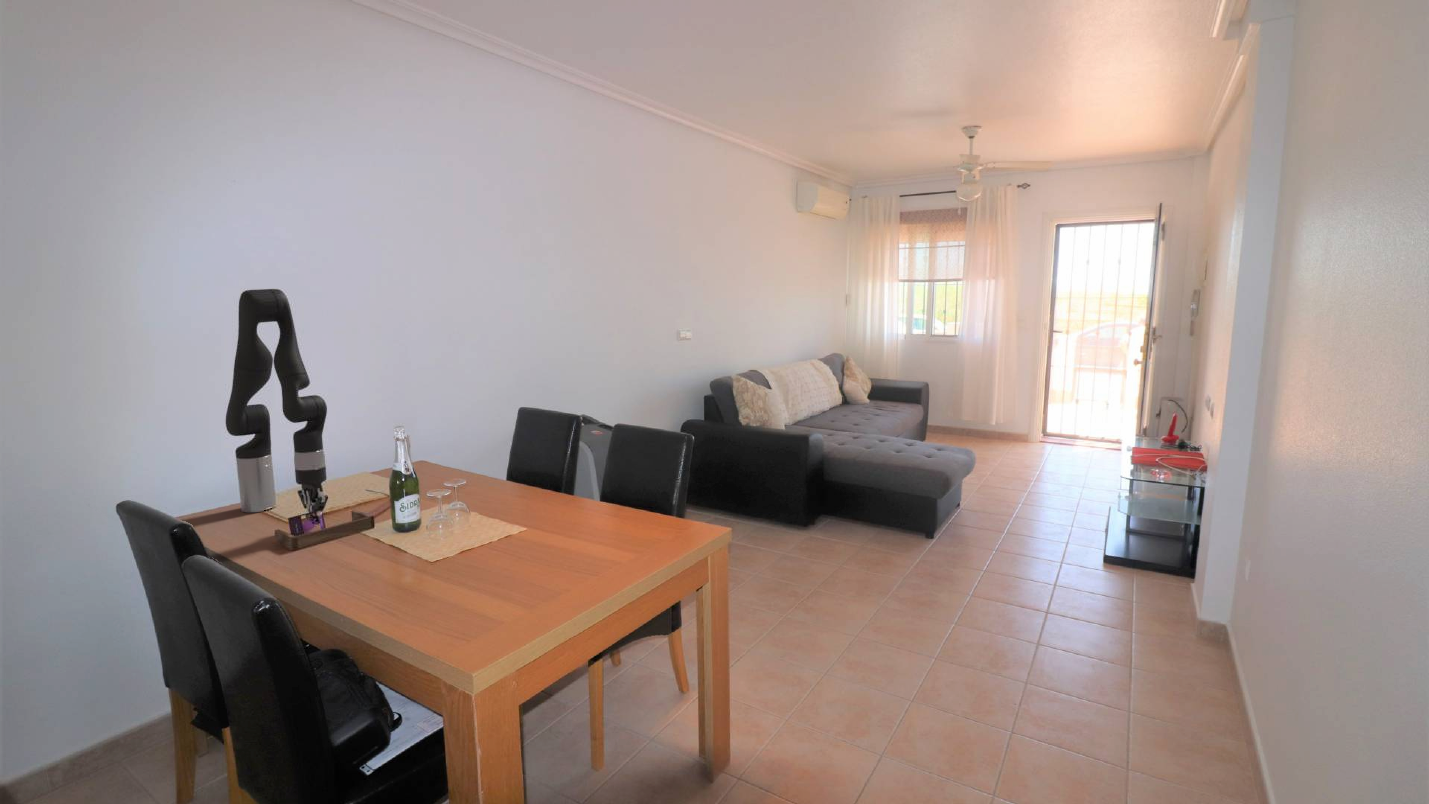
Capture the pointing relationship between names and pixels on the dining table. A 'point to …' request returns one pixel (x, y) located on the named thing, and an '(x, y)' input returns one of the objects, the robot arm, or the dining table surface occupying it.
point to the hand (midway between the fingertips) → (315, 524)
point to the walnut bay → (326, 532)
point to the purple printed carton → (305, 523)
